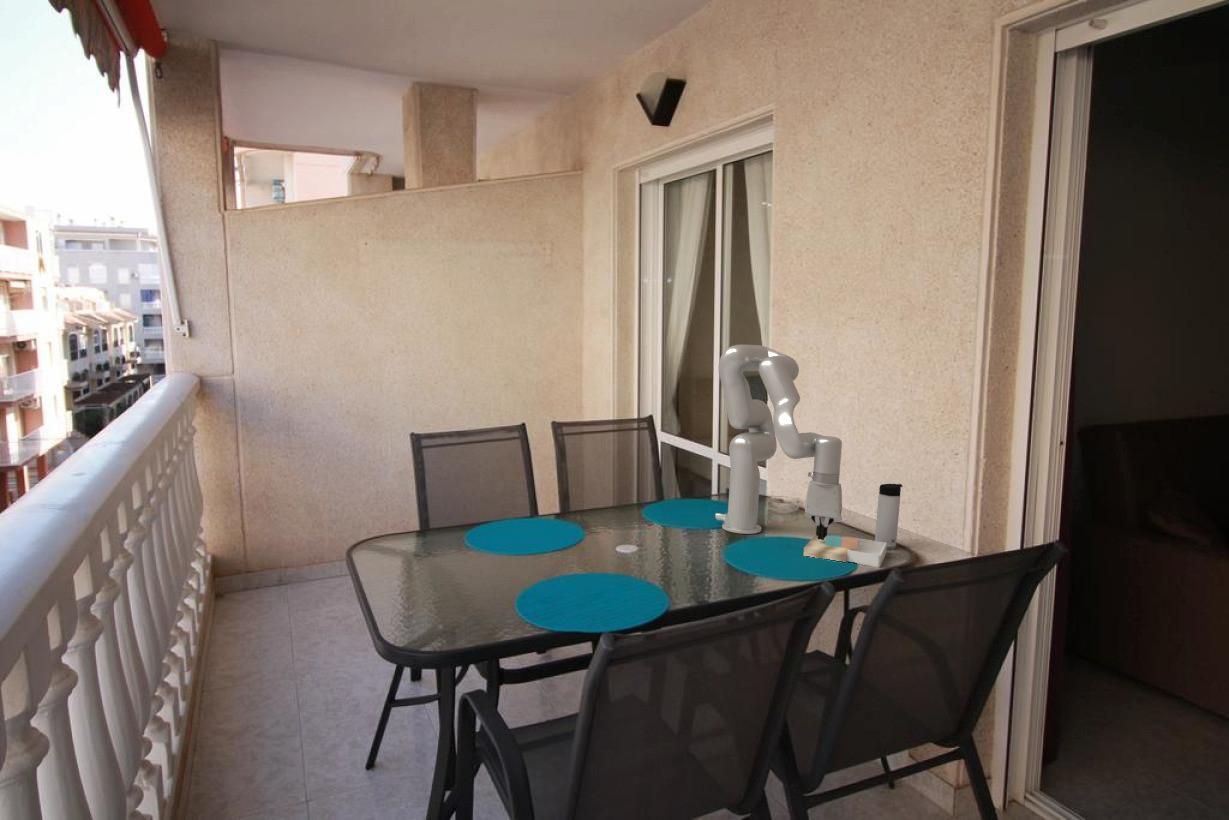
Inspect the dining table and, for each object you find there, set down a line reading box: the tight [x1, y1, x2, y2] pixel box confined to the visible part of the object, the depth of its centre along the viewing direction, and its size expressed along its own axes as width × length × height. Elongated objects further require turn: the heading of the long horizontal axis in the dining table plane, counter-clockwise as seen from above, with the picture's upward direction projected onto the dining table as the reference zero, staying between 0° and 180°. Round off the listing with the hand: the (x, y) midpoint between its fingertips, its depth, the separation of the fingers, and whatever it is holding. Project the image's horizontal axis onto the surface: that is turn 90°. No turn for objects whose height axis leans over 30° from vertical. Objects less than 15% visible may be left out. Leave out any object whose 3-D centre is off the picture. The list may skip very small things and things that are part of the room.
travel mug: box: [874, 483, 903, 551], centre depth 236 cm, size 6×7×20 cm
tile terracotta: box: [841, 535, 861, 550], centre depth 226 cm, size 4×4×2 cm
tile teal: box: [825, 533, 845, 547], centre depth 228 cm, size 4×4×2 cm
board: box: [803, 534, 854, 563], centre depth 228 cm, size 12×18×2 cm, turn 154°
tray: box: [847, 538, 887, 569], centre depth 224 cm, size 9×16×4 cm, turn 154°
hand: (821, 538), depth 229 cm, fingers closed
